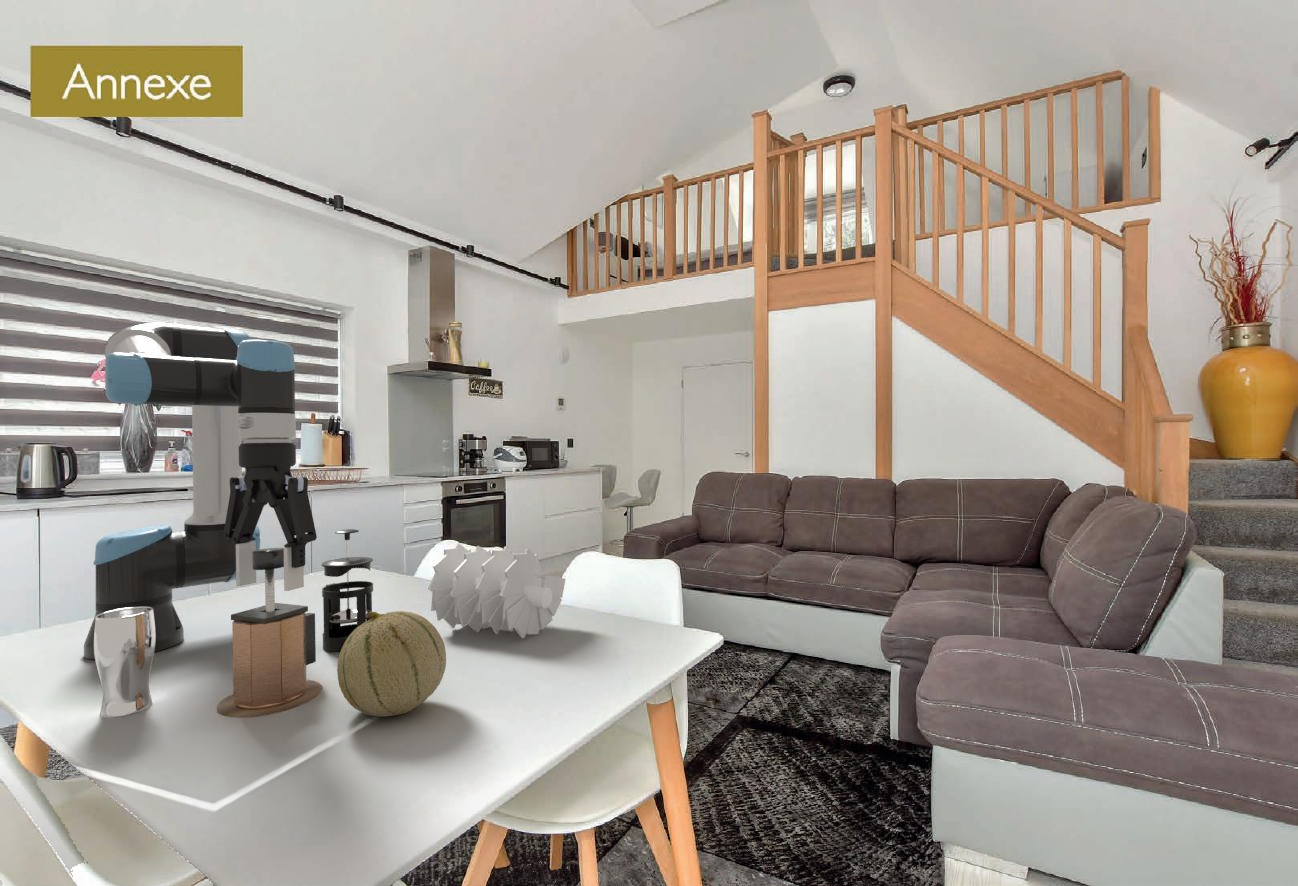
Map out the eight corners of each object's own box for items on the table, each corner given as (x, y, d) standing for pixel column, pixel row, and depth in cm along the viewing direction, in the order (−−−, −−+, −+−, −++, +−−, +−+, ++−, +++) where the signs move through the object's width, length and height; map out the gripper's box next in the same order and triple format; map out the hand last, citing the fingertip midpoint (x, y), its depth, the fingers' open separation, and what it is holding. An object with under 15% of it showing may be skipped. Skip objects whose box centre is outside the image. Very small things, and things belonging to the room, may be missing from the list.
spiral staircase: (532, 664, 119) (434, 642, 129) (575, 605, 134) (483, 589, 144) (510, 589, 112) (407, 573, 122) (558, 535, 126) (462, 524, 136)
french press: (387, 645, 120) (385, 528, 120) (341, 660, 112) (339, 534, 112) (352, 635, 126) (351, 524, 126) (306, 649, 118) (305, 530, 118)
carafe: (220, 705, 91) (219, 616, 91) (292, 676, 103) (291, 596, 103) (265, 713, 88) (263, 621, 88) (333, 682, 99) (332, 600, 99)
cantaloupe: (457, 718, 87) (455, 613, 87) (343, 746, 79) (341, 631, 79) (433, 684, 100) (432, 592, 100) (333, 705, 92) (331, 606, 92)
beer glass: (105, 728, 86) (103, 621, 86) (87, 716, 89) (86, 614, 89) (164, 709, 92) (163, 609, 92) (145, 699, 95) (144, 603, 95)
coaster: (193, 713, 90) (193, 709, 90) (279, 678, 103) (279, 675, 103) (261, 727, 85) (261, 723, 85) (343, 689, 98) (343, 685, 98)
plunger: (238, 689, 92) (236, 552, 92) (275, 675, 98) (273, 546, 98) (267, 694, 90) (265, 554, 90) (302, 679, 96) (300, 547, 96)
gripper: (193, 442, 94) (195, 587, 94) (299, 440, 87) (301, 597, 87) (240, 442, 101) (242, 576, 101) (342, 440, 94) (344, 585, 94)
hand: (269, 586), depth 94 cm, fingers open, 9 cm apart
